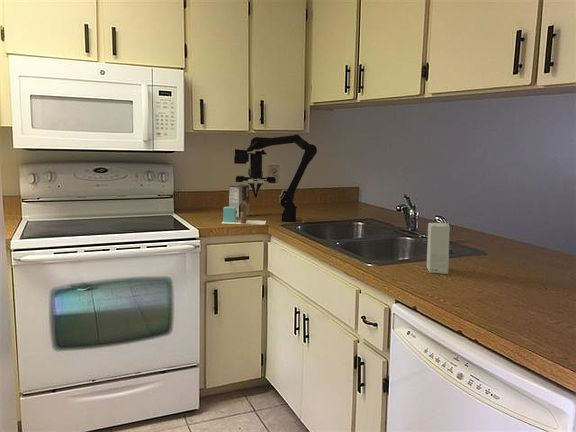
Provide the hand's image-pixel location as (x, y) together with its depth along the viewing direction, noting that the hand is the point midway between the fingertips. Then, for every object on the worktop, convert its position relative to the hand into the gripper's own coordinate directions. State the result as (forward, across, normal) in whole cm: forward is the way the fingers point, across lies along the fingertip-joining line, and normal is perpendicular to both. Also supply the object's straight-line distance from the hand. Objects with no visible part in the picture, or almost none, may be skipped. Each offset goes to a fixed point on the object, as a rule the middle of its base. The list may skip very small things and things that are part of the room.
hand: (255, 197), depth 237 cm
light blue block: (+11, +12, +3) cm, 17 cm away
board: (+12, +5, +4) cm, 14 cm away
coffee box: (+12, +10, -16) cm, 22 cm away
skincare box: (+12, -65, +79) cm, 103 cm away
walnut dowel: (+12, +5, +7) cm, 15 cm away
